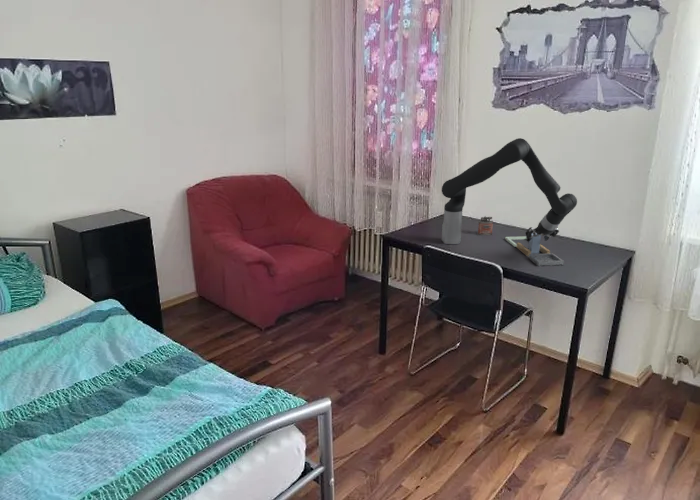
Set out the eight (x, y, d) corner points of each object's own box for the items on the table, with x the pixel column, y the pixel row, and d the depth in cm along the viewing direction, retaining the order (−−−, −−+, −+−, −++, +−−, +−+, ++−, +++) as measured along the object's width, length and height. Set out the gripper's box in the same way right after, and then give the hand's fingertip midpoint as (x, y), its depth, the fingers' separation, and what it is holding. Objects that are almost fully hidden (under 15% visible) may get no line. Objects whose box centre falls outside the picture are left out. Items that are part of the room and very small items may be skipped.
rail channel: (527, 256, 249) (528, 251, 248) (516, 247, 262) (516, 242, 262) (549, 255, 250) (550, 250, 249) (537, 246, 263) (537, 242, 262)
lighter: (478, 235, 283) (479, 217, 280) (476, 233, 286) (478, 216, 283) (493, 235, 283) (494, 217, 280) (491, 233, 286) (492, 215, 283)
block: (531, 253, 253) (533, 236, 250) (527, 250, 257) (529, 233, 254) (539, 253, 254) (541, 235, 251) (535, 250, 257) (537, 233, 254)
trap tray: (538, 266, 236) (538, 261, 236) (528, 258, 247) (528, 254, 246) (563, 265, 237) (564, 261, 237) (552, 257, 248) (553, 253, 247)
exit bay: (514, 246, 263) (514, 244, 263) (505, 239, 276) (505, 236, 275) (537, 246, 264) (538, 243, 264) (527, 238, 277) (527, 236, 276)
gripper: (562, 215, 239) (548, 232, 253) (532, 216, 238) (520, 232, 252) (566, 229, 235) (552, 245, 250) (536, 230, 234) (523, 246, 249)
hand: (536, 239), depth 251 cm, fingers open, 8 cm apart
